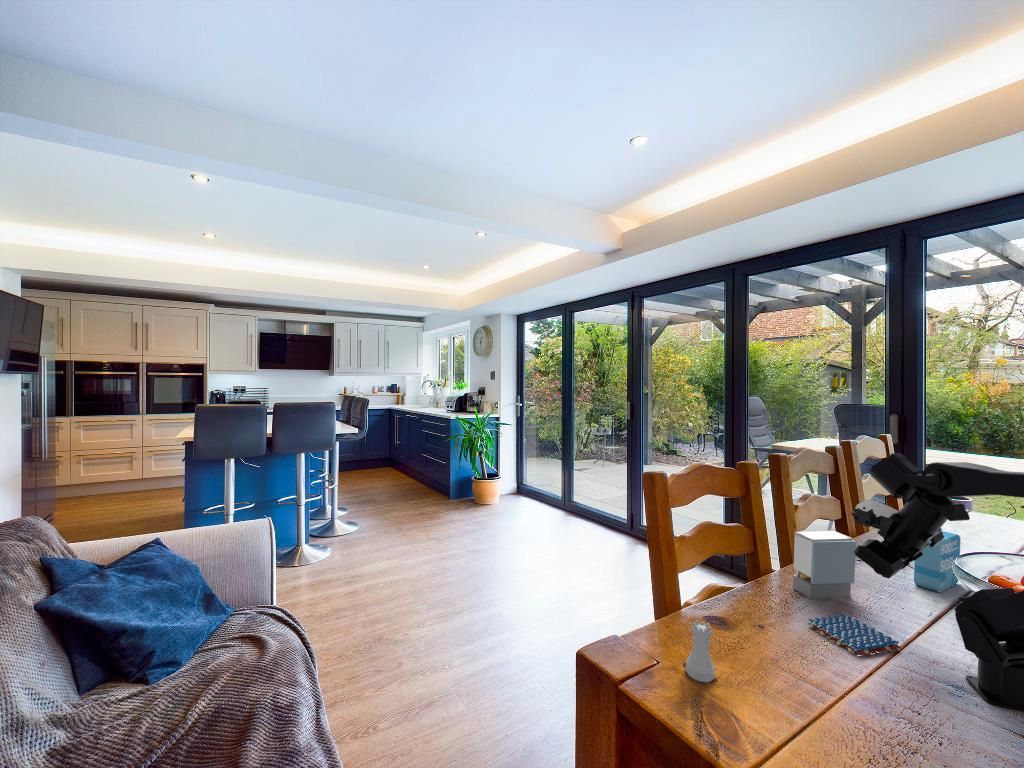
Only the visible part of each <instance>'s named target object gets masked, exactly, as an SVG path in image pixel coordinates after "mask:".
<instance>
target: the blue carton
mask: <svg viewBox="0 0 1024 768" xmlns="http://www.w3.org/2000/svg"><path fill="white" fill-rule="evenodd" d="M941 531H942V533H943V535H944V539H943V540H942V541H941V542H940V543H939V544H938V545H937V546H935V547H934V548H931V547H929V545H928V547H927V548H925V549H924V550H922V551H921V552H922V553H923V555H922V556H921V557H919V558H918V559H916V560H914V561H913V562H914V564H913V565H914V567H913V583H914V584H915V585H916V586H918V585H919V587H922V588H924V589H925V588H926V589H927V590H931V589H932V590H931V591H934V590H935V591H934V592H937V591H938V592H937V593H941V592H943V591H945V590H944V589H946V588H948V587H950V586H952V585H954V586H956V585H957V584H958V582H959V580H958V579H957V577H956V576H955V574H954V573H953V570H952V562H953V560H954V559H956V558H957V557H959V556H960V557H961V536H960V535H959V534H956V533H953V532H948V531H944V530H941ZM928 543H929V544H930V543H931V541H929V542H928ZM956 583H957V584H956ZM955 584H956V585H955ZM952 587H953V586H952ZM950 588H951V587H950ZM948 589H949V588H948ZM942 590H943V591H942ZM946 590H947V589H946ZM940 591H941V592H940Z"/></svg>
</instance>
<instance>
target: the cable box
mask: <svg viewBox="0 0 1024 768" xmlns="http://www.w3.org/2000/svg"><path fill="white" fill-rule="evenodd" d="M846 540H854V539H853V537H851V536H848V535H845V534H843V533H841V532H838V531H836V530H812V531H811V530H808V531H807V530H806V531H805V530H804V531H803V530H801V531H794V545H793V546H794V547H793V550H794V551H793V569H794V570H795V574H793V575H792V589H794V590H795V591H797V592H799V593H800V594H802V595H804V596H805V597H807V598H808V599H811V600H812V599H824V598H825V599H827V598H830V599H831V598H843V597H845V598H846V597H848V598H849V597H851V591H852V590H851V589H852V588H851V586H852V583H838V584H811V564H812V541H846Z"/></svg>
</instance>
